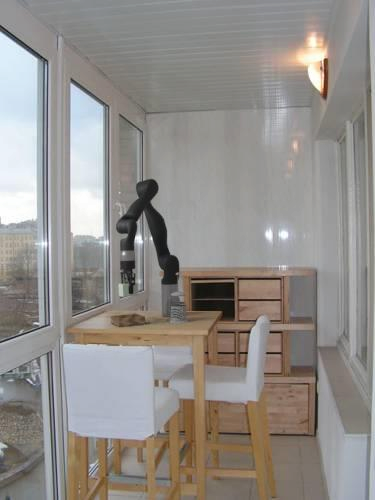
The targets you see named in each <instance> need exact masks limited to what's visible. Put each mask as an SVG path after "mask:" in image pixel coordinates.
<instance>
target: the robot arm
mask: <svg viewBox="0 0 375 500" xmlns="http://www.w3.org/2000/svg"><path fill="white" fill-rule="evenodd" d="M159 187H160V186H159V184H158V181H156V179H154V178H148V179H145V180H141V181H138V182H137V183H136V185H135V191H136V195H137V199H136V200H134V201H133V202H132V204H131V205H130V206H129V207H128V209H127V211H126V212H125V213H124V214H123V215H122V216H121V217H120V218H119V219H117V221H116V224H115V230H116V232H117V233H118V234H120V235H126V234H127V236H126V237H125V238H122V239H120V240H119V241H120V242H119V250H120V251H119V265H120V266H119V269H120V270H123V271H121V272H120V279H121V280H120V281H121V284H123V283H128V286H129V294H133V286H134V285H135V283H136V273H135V272H133V270H135V269H136V253H135V242H136V241H135V240H136V235H137V232H138V224H137V222H138V221H139V220H140V217H141V216H142V214H143V212H144V216H145V219H146V222H147V227H148V229H149V232H150V236H151V239H152V241H153V244H154V245H153V246H154V249H155V253H156V258H157V262H158V266H159V268H160V269H161V270H162V271H163V277H162V278H161V279H160V283H161V288H160V289H161V316H163V317H171V305H181V304H172V302H178V296H171V294H172V293H174V292H177V291H179V279H180V275H176V273H177V272H178V273H179V274H180V261H179V258H178V257H177V256H176V255H174V254H171V252H170V250H169V249H170V248H169V245H168V230H167V229H168V228H167V225H166V220H165V218H164V217H163V215H162V214H161V213H160V212H159V211H158V210H157V209H156V208H154V206H153V204H152V202H151V201H152V200H153V199H154V198H155V197H156V196H157V194H158V193H159ZM170 297H171V298H172V300H170ZM168 298H169V299H168ZM167 299H168V300H167ZM166 300H167V303H166V304H167V307H165V302H166ZM179 302H181V298H180V297H179ZM166 308H168V309H169V310H170V312H169V310H168V309H166ZM176 310H178V309H176ZM174 312H175V311H174ZM176 313H179V312H176ZM176 315H178V314H176Z"/></svg>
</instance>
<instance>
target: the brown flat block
mask: <svg viewBox="0 0 375 500" xmlns="http://www.w3.org/2000/svg"><path fill="white" fill-rule="evenodd" d="M144 324H145V325H146V317H145V315H142V314H138V313H128V314H119V315H118V314H117V315H110V325H113V326H115V327H118V328H124V327H125V326H126V327H134V326H135V325H136V326H144ZM126 327H125V328H126Z"/></svg>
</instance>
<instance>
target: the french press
mask: <svg viewBox="0 0 375 500" xmlns="http://www.w3.org/2000/svg"><path fill="white" fill-rule="evenodd" d="M176 275H179V276H180V272H179V273H178V272H177V273H176ZM171 296H178V302H172V304H180V305H171V316H170V320H169V323H171V324H183V323H188V322H189V320H188V319H187V304H186V302H185V301H180V302H179V298H180V297H186V296H187V294H186V293H185V292H183V291H179V290H178V291H177V292H174V293H172V294H171ZM168 299H169V298H168ZM168 299H167V300H168ZM167 300H166V302H165V307H167V304H166V303H167ZM170 300H172V298H171V297H170ZM166 309H168V308H166ZM176 309H178V310H176ZM168 310H169V309H168ZM174 311H175V312H174ZM169 312H170V310H169ZM176 312H179V313H176ZM176 314H178V315H176Z"/></svg>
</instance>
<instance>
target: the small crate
mask: <svg viewBox="0 0 375 500" xmlns="http://www.w3.org/2000/svg"><path fill="white" fill-rule="evenodd" d="M118 296H119V297H122V298H125V297H126V298H128V297H137V296H139V283H137V282H135V285H134V286H133V294H129V286H128V283H123V284H122V283H118Z"/></svg>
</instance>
